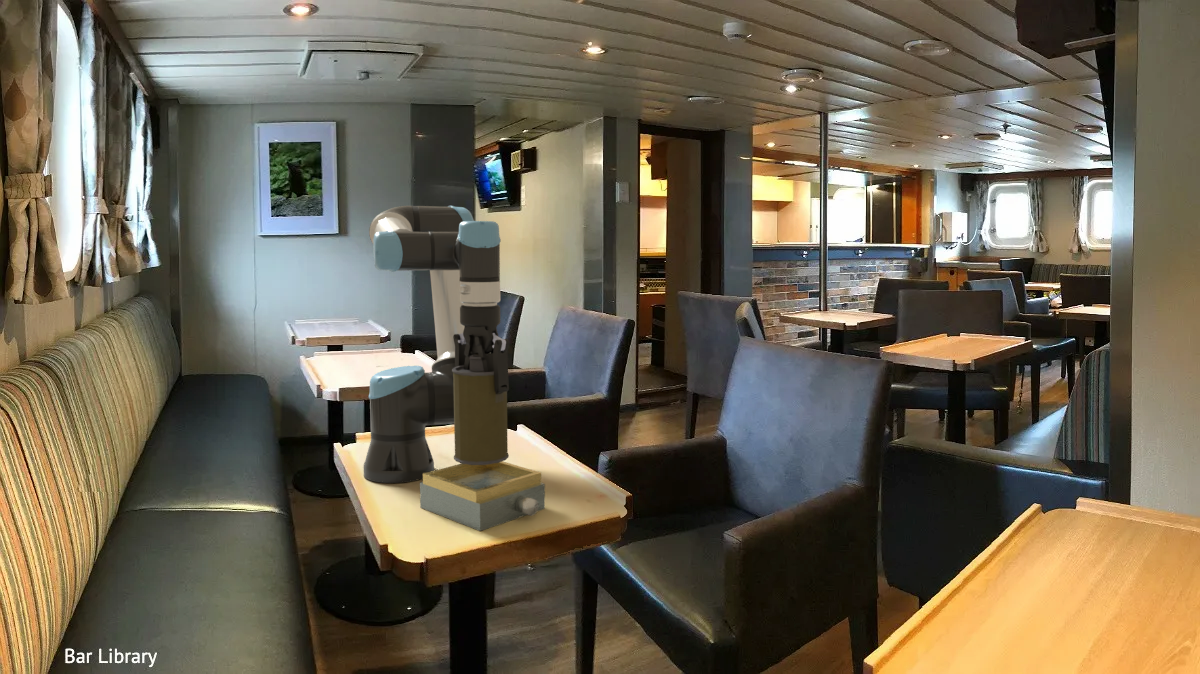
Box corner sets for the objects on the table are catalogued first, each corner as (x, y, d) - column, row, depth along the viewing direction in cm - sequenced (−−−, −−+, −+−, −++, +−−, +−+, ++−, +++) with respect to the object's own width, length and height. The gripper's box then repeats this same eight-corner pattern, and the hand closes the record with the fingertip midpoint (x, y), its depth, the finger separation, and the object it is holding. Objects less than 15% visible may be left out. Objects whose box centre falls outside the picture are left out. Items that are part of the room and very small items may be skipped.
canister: (498, 466, 146) (497, 359, 144) (445, 463, 148) (442, 357, 146) (516, 451, 157) (515, 351, 154) (466, 448, 159) (464, 349, 156)
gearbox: (420, 507, 154) (419, 472, 153) (484, 488, 166) (484, 455, 165) (491, 535, 140) (490, 497, 139) (555, 512, 152) (555, 476, 151)
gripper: (433, 302, 152) (435, 420, 155) (497, 308, 140) (498, 437, 142) (464, 300, 158) (466, 414, 160) (528, 306, 145) (529, 429, 148)
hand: (481, 424), depth 151 cm, fingers open, 6 cm apart
